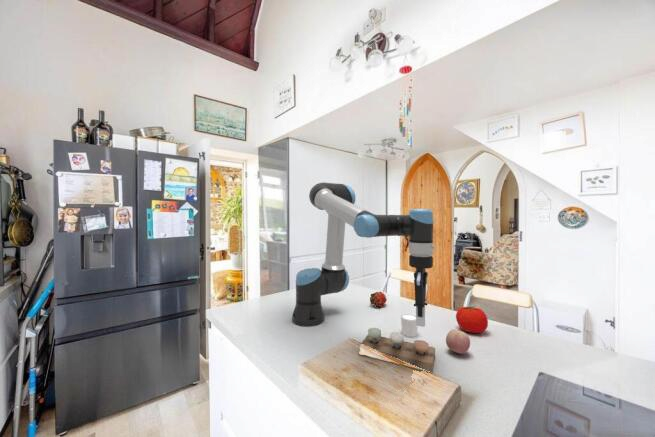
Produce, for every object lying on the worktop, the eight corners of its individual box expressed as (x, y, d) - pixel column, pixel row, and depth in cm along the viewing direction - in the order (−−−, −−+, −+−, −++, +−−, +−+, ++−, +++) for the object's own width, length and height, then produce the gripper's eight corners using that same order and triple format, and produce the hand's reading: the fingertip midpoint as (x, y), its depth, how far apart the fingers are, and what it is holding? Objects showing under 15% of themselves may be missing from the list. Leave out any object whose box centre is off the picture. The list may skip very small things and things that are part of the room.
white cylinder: (418, 331, 110) (418, 315, 110) (418, 338, 104) (418, 321, 104) (401, 329, 113) (401, 313, 112) (400, 336, 106) (400, 319, 106)
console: (358, 354, 92) (358, 346, 92) (368, 341, 102) (368, 333, 102) (432, 373, 81) (432, 363, 81) (435, 356, 91) (435, 347, 91)
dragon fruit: (371, 312, 138) (381, 309, 147) (384, 304, 134) (393, 302, 143) (363, 297, 141) (374, 295, 151) (376, 289, 138) (385, 288, 147)
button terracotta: (412, 361, 87) (412, 344, 87) (414, 354, 91) (414, 339, 91) (427, 364, 84) (427, 347, 84) (429, 358, 89) (429, 341, 89)
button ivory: (388, 352, 90) (388, 336, 90) (391, 346, 94) (391, 331, 94) (402, 355, 88) (402, 339, 88) (404, 349, 92) (404, 333, 92)
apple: (469, 361, 87) (469, 337, 87) (444, 355, 92) (444, 332, 92) (470, 351, 94) (470, 329, 94) (447, 345, 98) (447, 324, 98)
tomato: (485, 328, 114) (486, 304, 114) (489, 339, 103) (489, 313, 103) (455, 323, 119) (455, 300, 119) (456, 333, 108) (456, 308, 108)
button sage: (366, 347, 94) (366, 331, 94) (370, 341, 98) (370, 326, 98) (379, 349, 92) (379, 334, 92) (382, 344, 96) (382, 329, 96)
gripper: (431, 258, 80) (430, 335, 80) (434, 253, 92) (434, 320, 92) (405, 256, 83) (405, 330, 84) (412, 252, 95) (412, 316, 95)
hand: (420, 325), depth 88 cm, fingers closed
